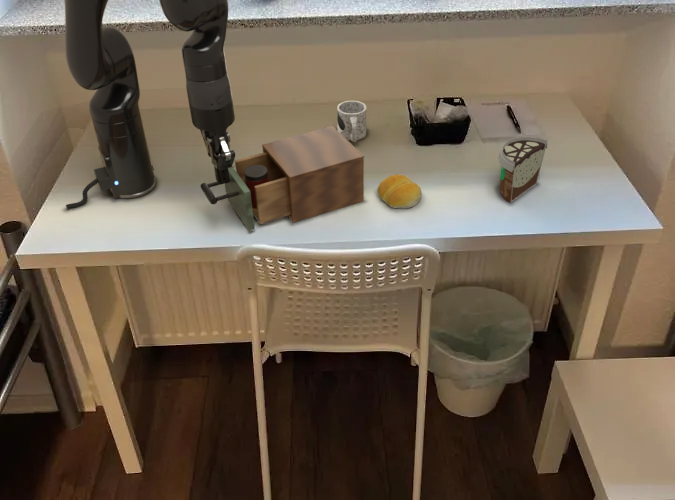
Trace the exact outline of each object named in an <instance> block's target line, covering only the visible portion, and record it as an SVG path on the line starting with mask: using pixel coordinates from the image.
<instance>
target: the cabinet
mask: <svg viewBox="0 0 675 500" xmlns="http://www.w3.org/2000/svg"><path fill="white" fill-rule="evenodd" d="M261 145H262V146H261V147H262V153H264V152H267V154H268V155H269V156H270V157H271V158H272V160H273V161H274V162H275V163H276V165H277V166H278V167H279V168H280V169H281V171H282V172H283V173H284V174H285V175H286V177H287V178H288V180H289V193H290V207H291V215H287V216H286V217H287V218H288V219H289V220H290V221H291V222H292V224H296V223H298V222H301V221H305V220H307V219H311V218H314V217H318V216H320V215H323V214H324V215H325V214H327V213H330V212H333V211H336V210H340V209H343V208H346V207H350V206H353V205H356V204H359V203H362V202H364V198H365V197H364V195H365V194H364V190H365V187H364V182H365V178H364V177H365V171H364V170H365V169H364V167H365V163H364V162H365V161H364V159H365V158H364V157H365V156H364V155H363V154H362V153H361V152H360V151H359V150H358V149H357V148H356V147H355V146H354V145H353V144H352V143H351V142H350V141H349V140H346V139H345V138H344V137H343V136H342V135H341V134H340V133H339V132H338V129H337V128H336V127H334V126H333V125H330V126H327V127H323V128H318V129H315V130H312V131H307V132H304V133H300V134H296V135H293V136H288V137H284V138H281V139H278V140H273V141H270V142H266V143H263V144H261Z"/></svg>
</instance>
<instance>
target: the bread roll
mask: <svg viewBox="0 0 675 500" xmlns="http://www.w3.org/2000/svg"><path fill="white" fill-rule="evenodd" d="M421 189H422V188H421V187H420V185H419V184H418V183H415V182H414V181H412V179H411V178H409V177H407V176H406V175H403V174H399V173H398V174H392V175H389V176H387V177H386V178H384V179H382V180H381V181H380V183H379V184H378V186H377V190H376V191H377V194H378V196H379V198H380V199H381V200H382V201H383V202H385V203H386V205H388V206H389V207H391V208H393V209H394V208H395V209H409V208H413V207H414V206H416V205H417V204H419V202H420V201H421V198H422V190H421Z"/></svg>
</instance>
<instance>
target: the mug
mask: <svg viewBox="0 0 675 500" xmlns="http://www.w3.org/2000/svg"><path fill="white" fill-rule="evenodd" d="M336 119H337V121H336V123H337V131H338V132H339V133H340V134H341V135H342V136H343V137H344V138H345V139H346V140H347V141H349V142H350V141H351V142H352V143H356V142H357V141H359V140H362V139H364V138H366V135H367V104H365V103H364V102H362V101H358V100H345V101H342V102H340V103H339V104H337V106H336Z"/></svg>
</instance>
